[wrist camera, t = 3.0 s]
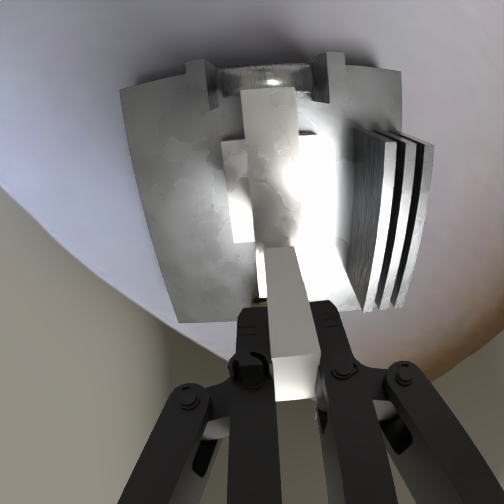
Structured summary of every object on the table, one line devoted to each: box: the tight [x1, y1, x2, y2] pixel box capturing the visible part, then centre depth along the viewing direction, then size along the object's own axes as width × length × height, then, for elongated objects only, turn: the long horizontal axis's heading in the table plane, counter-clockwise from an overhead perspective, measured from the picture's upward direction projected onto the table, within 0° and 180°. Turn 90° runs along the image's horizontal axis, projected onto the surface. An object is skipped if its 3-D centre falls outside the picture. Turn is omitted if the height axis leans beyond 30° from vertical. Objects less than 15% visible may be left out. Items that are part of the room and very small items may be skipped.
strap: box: [220, 65, 313, 297], centre depth 13 cm, size 12×4×1 cm, turn 5°
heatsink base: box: [119, 51, 434, 323], centre depth 16 cm, size 18×16×7 cm
